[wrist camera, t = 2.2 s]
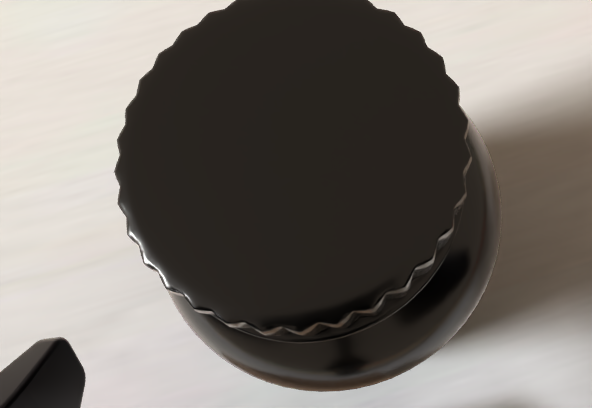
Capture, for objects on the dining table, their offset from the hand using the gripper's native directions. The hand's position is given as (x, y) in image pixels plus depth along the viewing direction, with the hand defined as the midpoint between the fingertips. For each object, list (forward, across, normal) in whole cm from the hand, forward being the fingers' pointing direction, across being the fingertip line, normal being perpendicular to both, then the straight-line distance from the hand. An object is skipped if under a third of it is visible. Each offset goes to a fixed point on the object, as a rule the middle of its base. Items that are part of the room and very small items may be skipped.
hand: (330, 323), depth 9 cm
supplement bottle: (+8, 0, +5) cm, 10 cm away
